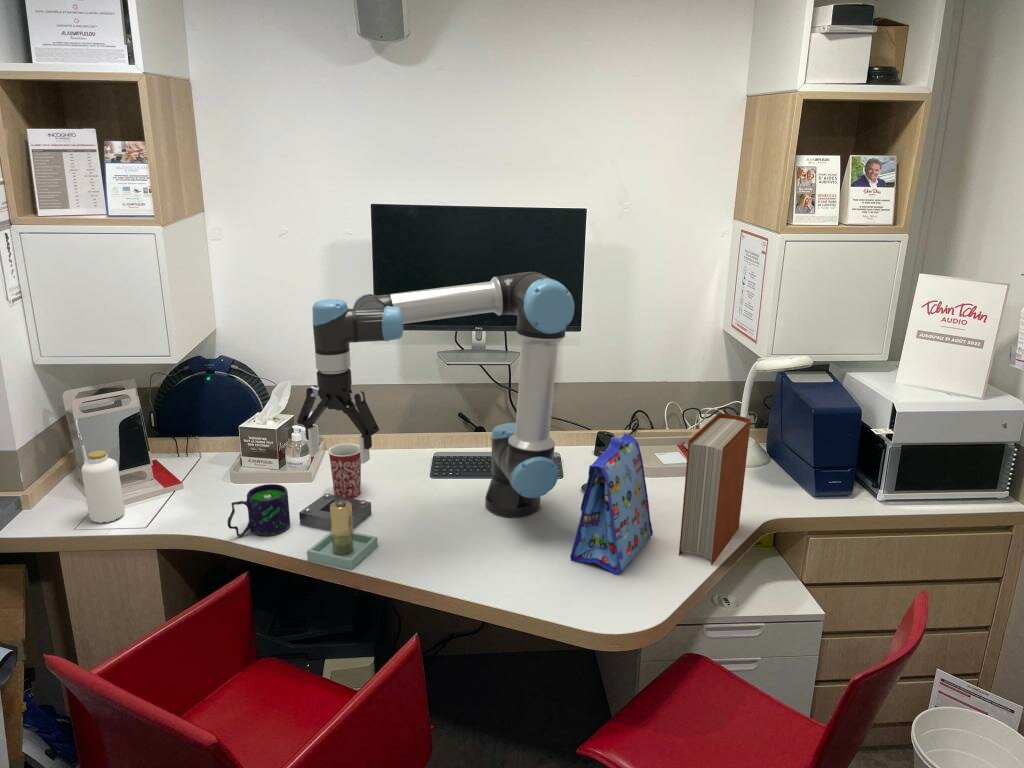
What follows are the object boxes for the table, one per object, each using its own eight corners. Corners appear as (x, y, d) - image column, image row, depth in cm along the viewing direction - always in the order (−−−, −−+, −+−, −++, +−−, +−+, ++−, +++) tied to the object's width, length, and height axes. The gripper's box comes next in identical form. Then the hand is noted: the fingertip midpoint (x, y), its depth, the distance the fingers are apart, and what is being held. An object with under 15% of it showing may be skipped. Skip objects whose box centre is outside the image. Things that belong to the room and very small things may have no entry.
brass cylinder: (357, 547, 187) (355, 499, 183) (346, 557, 183) (344, 508, 179) (339, 543, 189) (337, 495, 185) (328, 553, 184) (325, 504, 180)
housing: (371, 514, 205) (370, 500, 204) (347, 534, 194) (346, 519, 193) (326, 505, 210) (325, 491, 208) (300, 524, 199) (299, 510, 198)
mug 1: (285, 515, 204) (282, 480, 201) (294, 531, 196) (291, 495, 192) (225, 527, 197) (221, 492, 194) (231, 545, 189) (226, 508, 186)
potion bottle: (132, 513, 204) (122, 450, 198) (104, 527, 197) (94, 462, 191) (110, 507, 207) (100, 445, 202) (82, 520, 200) (71, 456, 194)
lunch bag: (605, 523, 201) (610, 420, 193) (654, 537, 195) (662, 430, 186) (567, 560, 184) (572, 448, 175) (620, 577, 177) (628, 461, 168)
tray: (377, 545, 189) (377, 536, 189) (351, 569, 179) (351, 560, 178) (335, 536, 193) (335, 528, 192) (307, 559, 182) (306, 550, 182)
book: (711, 565, 182) (723, 447, 173) (678, 555, 186) (688, 440, 177) (740, 526, 201) (752, 418, 192) (709, 518, 205) (719, 412, 196)
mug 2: (359, 501, 212) (356, 456, 208) (326, 500, 213) (323, 454, 209) (370, 482, 224) (368, 439, 220) (340, 480, 225) (337, 437, 221)
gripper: (391, 370, 172) (395, 458, 178) (296, 359, 180) (303, 444, 186) (374, 380, 165) (378, 471, 171) (276, 367, 173) (284, 455, 180)
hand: (339, 457), depth 179 cm, fingers open, 13 cm apart
